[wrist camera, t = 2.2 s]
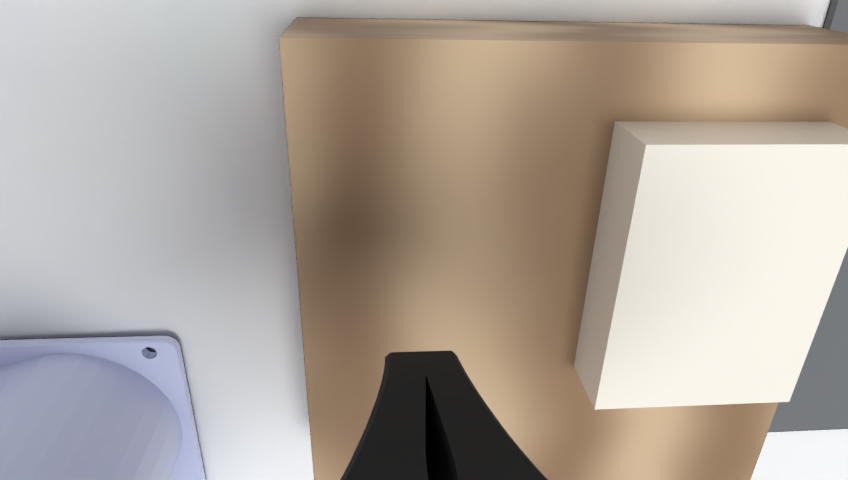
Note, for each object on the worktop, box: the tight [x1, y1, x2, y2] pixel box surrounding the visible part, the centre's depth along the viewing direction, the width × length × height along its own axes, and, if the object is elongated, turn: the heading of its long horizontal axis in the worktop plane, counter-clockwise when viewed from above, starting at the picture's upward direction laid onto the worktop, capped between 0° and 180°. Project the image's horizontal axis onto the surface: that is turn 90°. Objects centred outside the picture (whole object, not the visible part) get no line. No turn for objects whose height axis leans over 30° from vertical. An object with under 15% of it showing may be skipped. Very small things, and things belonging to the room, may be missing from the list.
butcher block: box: [279, 18, 848, 480], centre depth 20 cm, size 16×16×4 cm
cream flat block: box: [574, 121, 848, 410], centre depth 17 cm, size 6×8×2 cm
